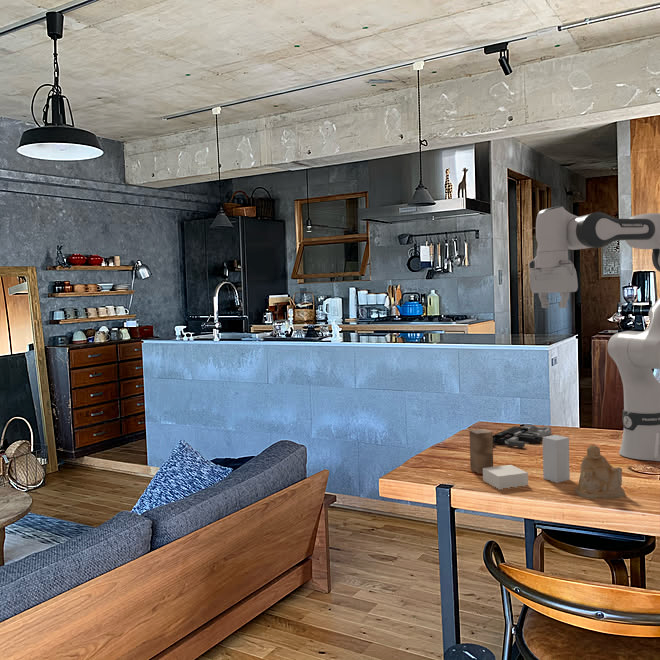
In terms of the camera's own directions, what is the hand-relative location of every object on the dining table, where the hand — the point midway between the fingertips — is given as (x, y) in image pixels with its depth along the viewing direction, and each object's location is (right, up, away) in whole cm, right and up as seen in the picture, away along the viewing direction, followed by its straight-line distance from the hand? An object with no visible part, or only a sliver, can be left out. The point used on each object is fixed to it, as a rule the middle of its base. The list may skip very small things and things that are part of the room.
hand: (554, 307), depth 199 cm
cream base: (-18, -50, -12) cm, 54 cm away
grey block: (-3, -49, -10) cm, 50 cm away
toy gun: (-1, -47, +36) cm, 59 cm away
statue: (+4, -50, -24) cm, 55 cm away
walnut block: (-21, -49, +1) cm, 53 cm away
